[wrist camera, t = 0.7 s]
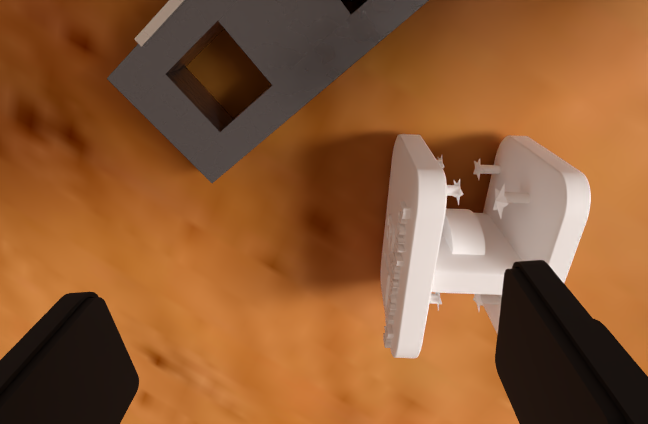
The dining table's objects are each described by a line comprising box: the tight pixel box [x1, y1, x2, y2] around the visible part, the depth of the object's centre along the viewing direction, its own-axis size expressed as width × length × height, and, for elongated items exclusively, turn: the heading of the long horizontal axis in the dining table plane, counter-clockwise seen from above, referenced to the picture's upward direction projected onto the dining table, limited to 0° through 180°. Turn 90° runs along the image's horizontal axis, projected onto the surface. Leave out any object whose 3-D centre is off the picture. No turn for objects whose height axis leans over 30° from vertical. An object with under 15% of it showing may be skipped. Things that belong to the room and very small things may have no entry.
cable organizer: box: [380, 134, 591, 358], centre depth 30 cm, size 15×11×12 cm
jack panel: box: [107, 0, 429, 183], centre depth 27 cm, size 24×10×4 cm, turn 129°
